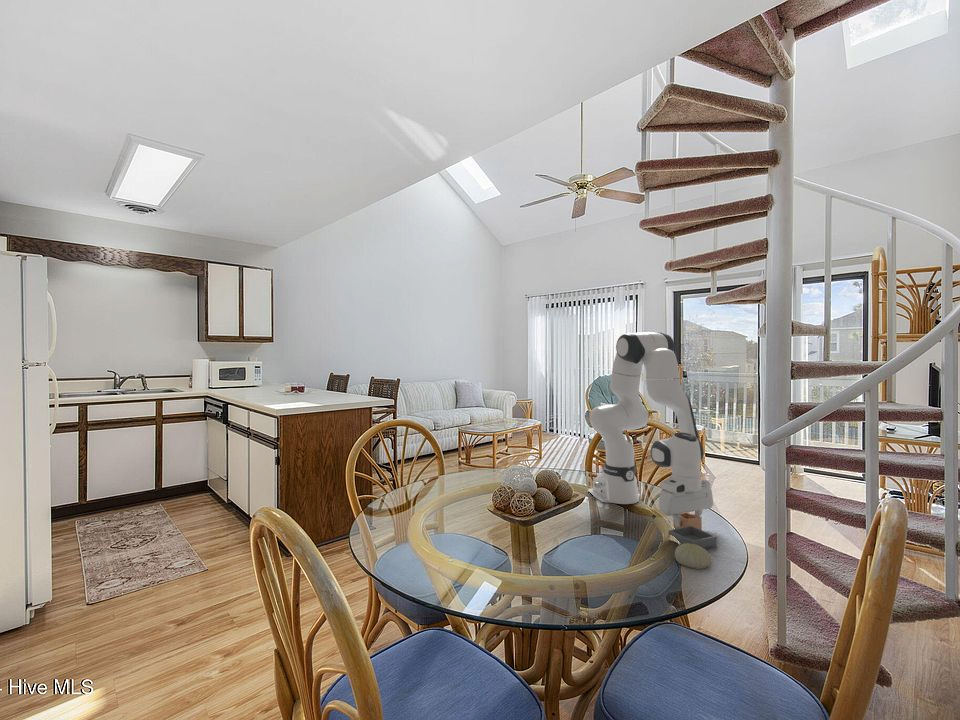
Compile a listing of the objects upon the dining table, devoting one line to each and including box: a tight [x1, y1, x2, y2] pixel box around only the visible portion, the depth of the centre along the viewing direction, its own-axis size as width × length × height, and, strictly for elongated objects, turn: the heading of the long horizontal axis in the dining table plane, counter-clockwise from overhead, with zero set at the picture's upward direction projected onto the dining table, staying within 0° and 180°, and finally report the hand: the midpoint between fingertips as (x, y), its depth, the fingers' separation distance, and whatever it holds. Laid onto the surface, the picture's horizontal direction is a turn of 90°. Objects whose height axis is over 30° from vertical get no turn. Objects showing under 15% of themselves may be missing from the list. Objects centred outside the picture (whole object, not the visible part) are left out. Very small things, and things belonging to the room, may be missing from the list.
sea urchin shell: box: [674, 543, 713, 570], centre depth 123 cm, size 9×8×8 cm
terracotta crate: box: [672, 512, 703, 531], centre depth 146 cm, size 6×6×5 cm
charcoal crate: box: [668, 526, 717, 550], centre depth 137 cm, size 9×9×3 cm
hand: (687, 524), depth 146 cm, fingers closed on terracotta crate, 6 cm apart
